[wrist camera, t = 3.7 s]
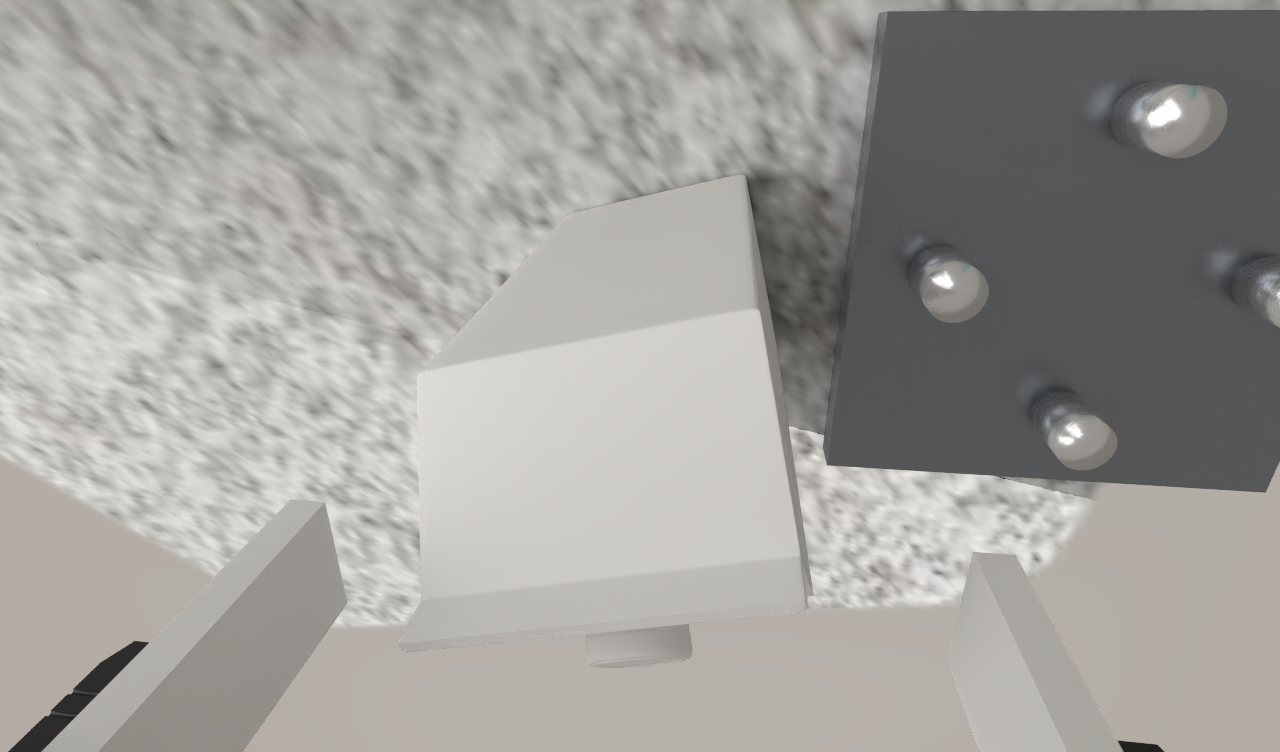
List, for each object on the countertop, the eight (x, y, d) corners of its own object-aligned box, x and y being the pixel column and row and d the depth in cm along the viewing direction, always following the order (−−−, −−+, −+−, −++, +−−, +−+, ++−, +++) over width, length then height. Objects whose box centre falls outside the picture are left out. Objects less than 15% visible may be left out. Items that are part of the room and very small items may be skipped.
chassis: (822, 446, 31) (834, 499, 28) (879, 12, 24) (904, 8, 20) (1240, 471, 29) (1311, 531, 26) (1438, 11, 22) (1575, 6, 19)
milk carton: (566, 212, 28) (313, 480, 11) (745, 171, 27) (769, 406, 10) (612, 372, 31) (466, 782, 14) (776, 343, 29) (838, 761, 12)
